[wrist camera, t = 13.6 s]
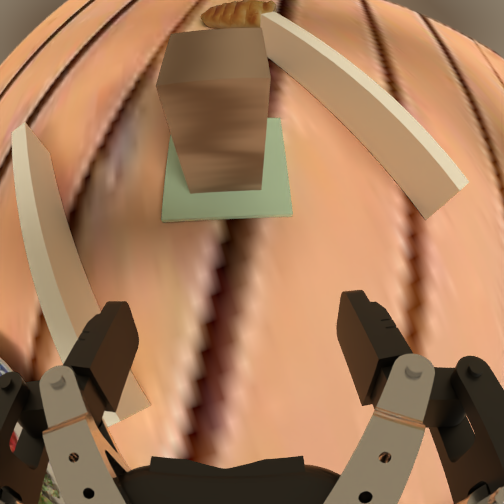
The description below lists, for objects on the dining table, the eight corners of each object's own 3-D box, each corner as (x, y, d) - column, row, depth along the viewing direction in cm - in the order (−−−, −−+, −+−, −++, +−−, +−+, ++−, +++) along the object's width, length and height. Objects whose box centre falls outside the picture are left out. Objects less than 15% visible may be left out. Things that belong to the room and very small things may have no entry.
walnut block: (256, 133, 22) (261, 25, 13) (261, 190, 21) (270, 77, 11) (193, 136, 22) (171, 31, 13) (190, 193, 21) (155, 86, 11)
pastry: (196, 35, 29) (193, 10, 25) (208, 14, 31) (207, -8, 27) (274, 38, 28) (276, 12, 25) (277, 17, 31) (279, -6, 27)
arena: (271, 47, 27) (274, 11, 23) (436, 211, 21) (469, 181, 16) (37, 162, 22) (11, 132, 18) (132, 414, 16) (98, 431, 11)
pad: (279, 121, 23) (280, 117, 23) (292, 216, 21) (292, 214, 20) (173, 126, 23) (172, 123, 23) (162, 222, 20) (161, 220, 20)
